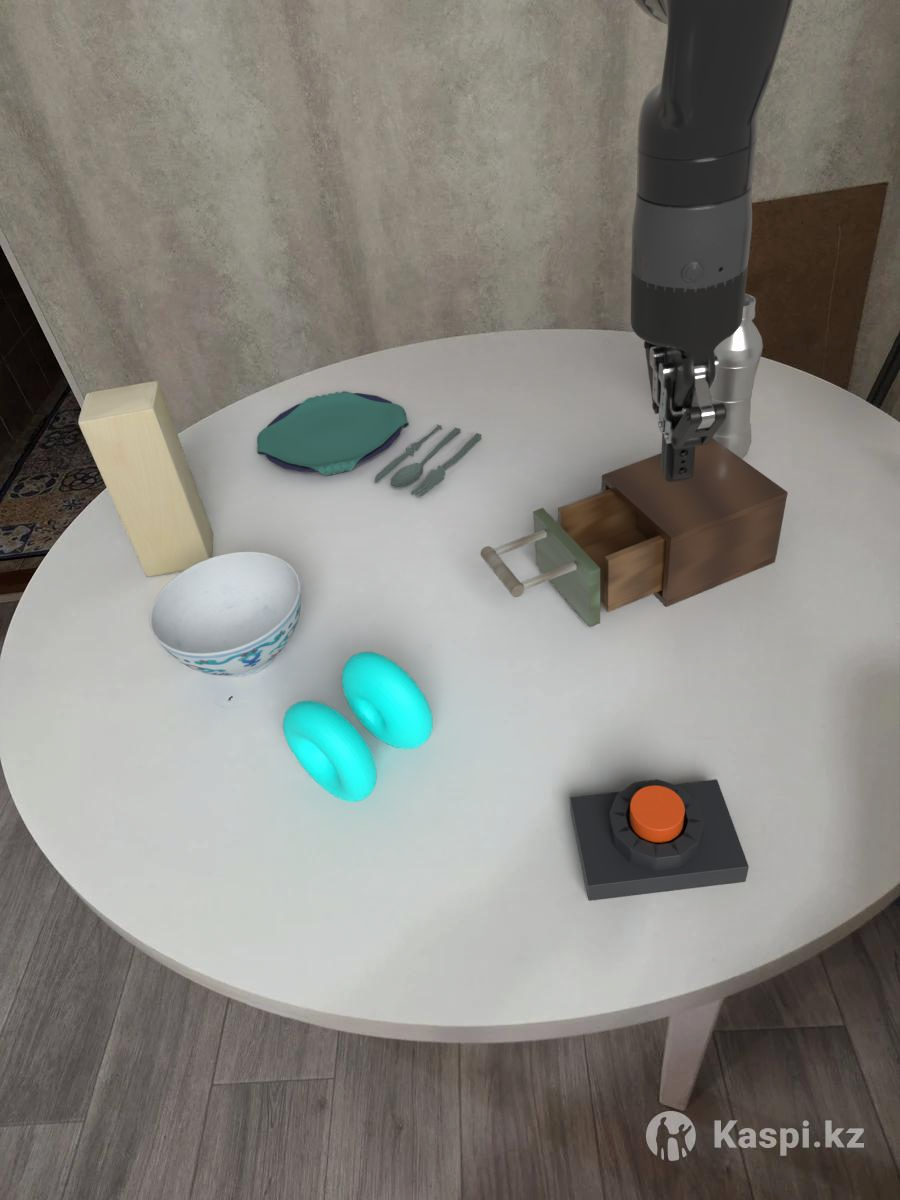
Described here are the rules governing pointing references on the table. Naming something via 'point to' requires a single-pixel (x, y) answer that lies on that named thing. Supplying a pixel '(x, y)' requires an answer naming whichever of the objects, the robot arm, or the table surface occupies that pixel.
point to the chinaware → (228, 613)
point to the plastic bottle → (738, 381)
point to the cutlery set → (349, 438)
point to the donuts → (380, 706)
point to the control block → (656, 844)
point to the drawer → (590, 555)
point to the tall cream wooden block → (147, 476)
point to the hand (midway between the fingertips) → (676, 475)
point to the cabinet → (705, 518)
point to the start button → (657, 814)
